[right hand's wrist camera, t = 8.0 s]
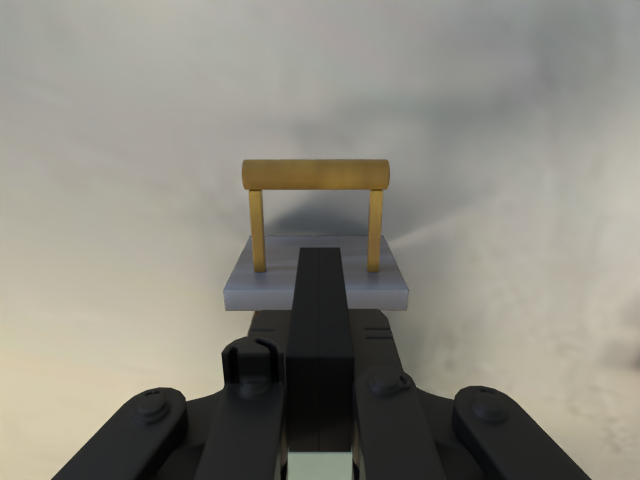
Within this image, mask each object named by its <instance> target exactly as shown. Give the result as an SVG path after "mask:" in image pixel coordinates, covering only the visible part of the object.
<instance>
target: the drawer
mask: <svg viewBox="0 0 640 480" xmlns="http://www.w3.org/2000/svg"><path fill="white" fill-rule="evenodd" d="M389 179H390V167H389V162H388V160H387V159H319V160H244V161H243V164H242V182H243V186H244V189H246V190H249V204H250V219H251V234H252V236H250V238H249V240H248V242H247V244H246V246H245V248H244V250H243V252H242V254H241V256H240V258H239V260H238V262H237V264H236V266H235V268H234V270H233V272H232V274H231V276H230V278H229V280H228V282H227V284H226V286H225V288H224V290H223V291H224V302H225V310H226V311H254V315H253V318H254V317H255V316H257V315H258V314H259V313H260V312H261V311H262V310H292V304H293V296H294V289H295V281H296V274H297V266H298V258H299V251H300V247H340V251H341V258H342V266H343V274H344V281H345V289H346V296H347V304H348V309H378V310H407V303H408V292H409V290H408V287H407V285H406V283H405V281H404V279H403V277H402V274H401V272H400V270H399V268H398V266H397V264H396V261H395V259H394V257H393V255H392V253H391V251H390V249H389V246H388V244H387V242H386V240H385V238H384V236H381V222H382V204H383V190H386V189H387V188H388V185H389ZM262 190H370V200H369V223H368V236H264V217H263V198H262ZM253 318H252V320H253ZM251 324H252V321H251ZM250 327H251V325H250ZM249 332H250V328H249V331H248V334H249Z"/></svg>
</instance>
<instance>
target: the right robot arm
mask: <svg viewBox="0 0 640 480" xmlns="http://www.w3.org/2000/svg"><path fill="white" fill-rule="evenodd" d="M221 354H222V364H223V373H224V383H225V385H224V389H222V390H221V391H219V392H217V393H215V394H213V395H209V396H206V397H203V398H199V399H194V400H190V401H186V399H185V397H184V396H183V394H182V393H181V392H180V391H178V390H175V389H173V388H161V387H159V388H155V389H150V390H146V391H144V392H142V393H140V394H138V395H135V396H134V397H132V398H131V399H130V400H129V401H127V402H126V403H125V404H124V405H123V406H122V407H121V408H120V409H119V410H118V411H117V412H116V413H115V414H114V415H113V416H112V417H111V418H110V419H109V420H108V421H107V422H106V423H105V424H104V425H103V426H102V427H101V428H100V429H99V430H98V431H97V433H96V434H95V435H94V436H93V437H92V438H91V439H90V440H89V441H88V442H87V443H86V444H85V445H84V446H83V447H82V448H81V449H80V450H79V451H78V452H77V453H76V454H75V455H74V456H73V457H72V458H71V459H70V460H69V462H68V463H67V464H66V465H65V466H64V467H63V468H62V469H61V470H60V471H59V472H58V473H57V474H56V475H55V476H54V477H53V478H52V479H51V480H288V448H289V452H351V446H352V478H351V480H591V479H590V478H589V477H588V475H587V474H586V473H585V472H584V471H583V470H582V469H581V468H580V467H579V466H578V465H577V464H576V463H575V462H574V461H573V460H572V459H571V458H570V457H569V456H568V455H567V454H566V453H565V452H564V451H563V450H562V449H561V448H560V447H559V446H558V445H557V444H556V443H555V442H554V441H553V440H552V438H551V437H550V436H549V435H548V434H547V433H546V432H545V431H544V430H543V429H542V428H541V427H540V426H539V425H538V424H537V423H536V422H535V421H534V420H533V419H532V418H531V417H530V416H529V415H528V414H527V413H526V412H525V411H524V410H523V409H522V408H521V407H520V406H519V405H518V404H517V403H516V402H515V401H514V400H513V399H511V398H510V397H509V396H508V395H506V394H504V393H502V392H500V391H498V390H496V389H493V388H489V387H484V386H468V387H466V388H463V389H461V390H460V391H459V392H458V393H457V394H456V395H455V399H454V400H452V399H448V398H444V397H440V396H436V395H432V394H429V393H426V392H424V391H422V390H420V389H418V388H417V387H416V385H415V383H414V381H413V380H412V378H411V377H410V376H409V375H408V374H406V373H405V372H404V371H403V368H402V365H401V362H400V358H399V355H398V352H397V348H396V345H395V342H394V339H393V335H392V332H391V330H390V325H389V322H388V319H387V317H386V316H385V315H384V314H383V313H382V312H381V311H380V310H378V309H348V304H347V296H346V289H345V281H344V274H343V266H342V258H341V251H340V247H300V251H299V258H298V266H297V274H296V281H295V289H294V296H293V304H292V310H262V311H261V312H260V313H259V314H258V315H257V316H255V317H254V318H253V320H252V324H251V327H250V332H249V334H248V336H247V337H243V338H240V339H237V340H235V341H233V342H232V343H230V344H229V345H227V346H226V347H225V349H224V350H223V352H222V353H221Z"/></svg>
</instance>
